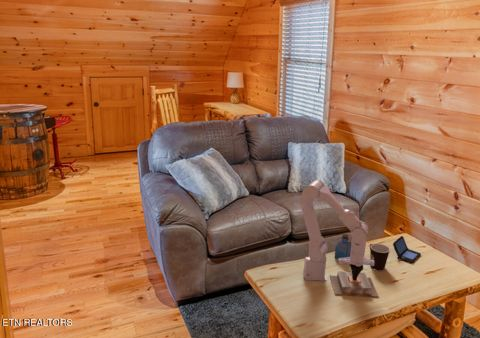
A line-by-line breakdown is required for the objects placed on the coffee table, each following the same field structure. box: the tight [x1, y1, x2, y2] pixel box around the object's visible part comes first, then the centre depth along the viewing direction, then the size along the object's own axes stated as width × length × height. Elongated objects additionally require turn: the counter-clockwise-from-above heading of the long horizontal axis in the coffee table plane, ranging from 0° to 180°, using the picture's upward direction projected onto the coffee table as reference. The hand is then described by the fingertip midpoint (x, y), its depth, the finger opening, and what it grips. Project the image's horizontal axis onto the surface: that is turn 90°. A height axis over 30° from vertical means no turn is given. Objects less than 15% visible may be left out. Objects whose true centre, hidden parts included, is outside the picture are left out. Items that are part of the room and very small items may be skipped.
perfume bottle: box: [334, 233, 352, 260], centre depth 199 cm, size 6×6×12 cm
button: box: [348, 276, 360, 283], centre depth 176 cm, size 4×4×3 cm
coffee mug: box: [369, 243, 391, 272], centre depth 193 cm, size 12×9×10 cm
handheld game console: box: [392, 235, 422, 264], centre depth 203 cm, size 12×11×7 cm
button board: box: [329, 271, 380, 298], centre depth 176 cm, size 18×14×4 cm
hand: (354, 278), depth 176 cm, fingers closed, pressing on button
